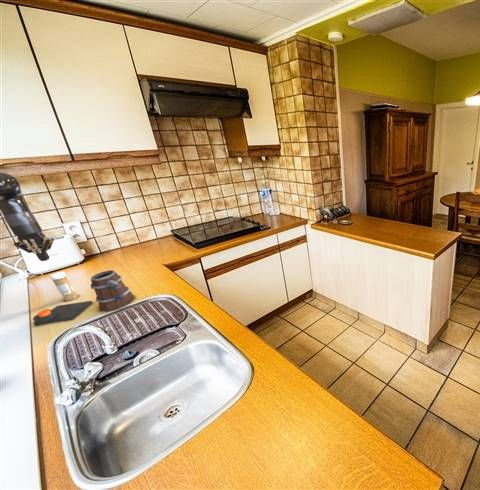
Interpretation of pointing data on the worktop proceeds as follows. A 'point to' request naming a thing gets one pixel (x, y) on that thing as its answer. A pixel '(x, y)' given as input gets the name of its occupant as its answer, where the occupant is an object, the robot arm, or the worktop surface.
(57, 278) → the sprinkles bottle
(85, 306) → the scale
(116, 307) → the mug
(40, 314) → the tare button
